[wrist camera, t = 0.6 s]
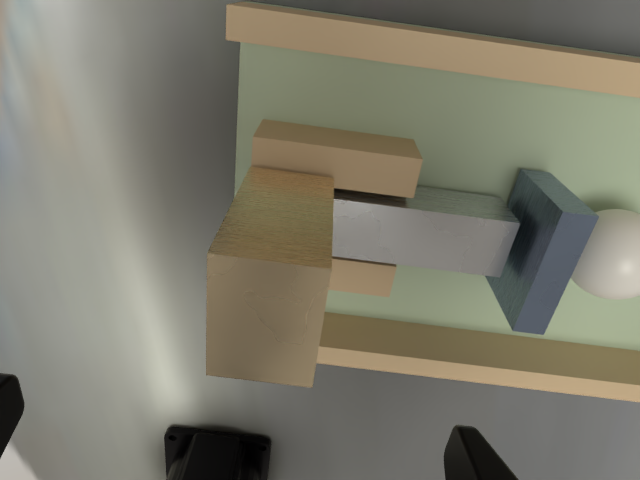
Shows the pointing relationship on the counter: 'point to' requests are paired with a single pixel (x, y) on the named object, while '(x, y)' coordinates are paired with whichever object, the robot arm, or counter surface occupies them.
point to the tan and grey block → (374, 258)
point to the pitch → (445, 179)
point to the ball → (611, 256)
